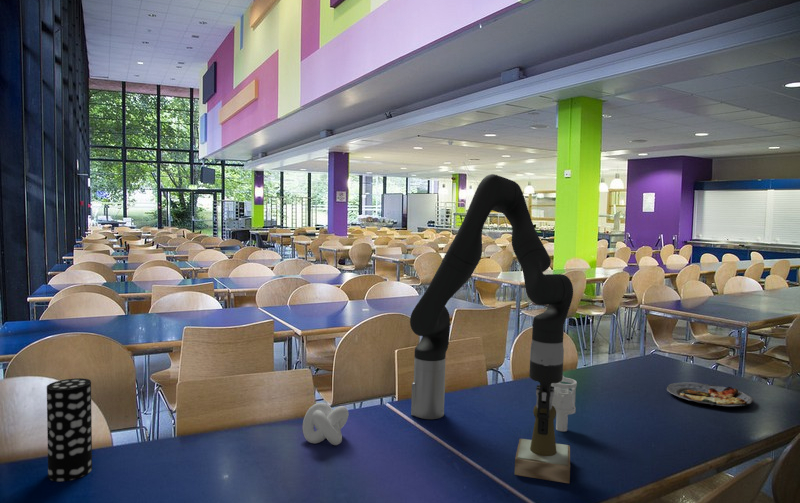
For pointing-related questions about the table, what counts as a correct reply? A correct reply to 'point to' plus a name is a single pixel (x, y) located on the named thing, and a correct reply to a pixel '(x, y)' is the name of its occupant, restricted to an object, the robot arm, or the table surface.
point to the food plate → (710, 394)
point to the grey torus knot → (324, 423)
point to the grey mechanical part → (564, 402)
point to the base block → (543, 463)
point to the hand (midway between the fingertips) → (543, 427)
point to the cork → (544, 443)
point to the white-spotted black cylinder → (69, 429)
